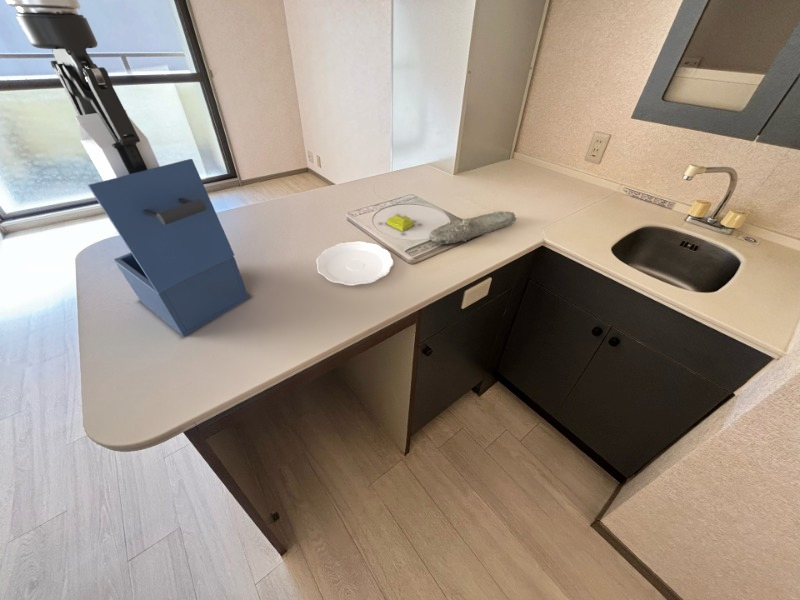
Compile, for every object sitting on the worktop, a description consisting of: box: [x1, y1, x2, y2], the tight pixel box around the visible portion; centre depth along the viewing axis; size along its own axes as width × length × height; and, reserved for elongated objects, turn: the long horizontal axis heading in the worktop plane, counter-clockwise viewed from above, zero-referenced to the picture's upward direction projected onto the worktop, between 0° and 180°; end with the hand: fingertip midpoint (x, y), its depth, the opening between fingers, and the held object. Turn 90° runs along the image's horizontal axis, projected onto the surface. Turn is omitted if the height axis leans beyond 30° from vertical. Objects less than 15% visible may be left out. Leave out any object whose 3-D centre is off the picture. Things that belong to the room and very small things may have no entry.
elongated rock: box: [429, 210, 517, 245], centre depth 106 cm, size 35×5×10 cm
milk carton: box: [74, 108, 161, 181], centre depth 59 cm, size 7×7×19 cm
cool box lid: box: [87, 158, 235, 292], centre depth 58 cm, size 20×16×9 cm
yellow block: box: [381, 214, 415, 232], centre depth 109 cm, size 10×9×3 cm
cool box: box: [112, 252, 250, 338], centre depth 74 cm, size 19×16×12 cm
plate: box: [315, 240, 394, 286], centre depth 90 cm, size 21×21×2 cm
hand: (133, 178), depth 59 cm, fingers closed on milk carton, 7 cm apart
